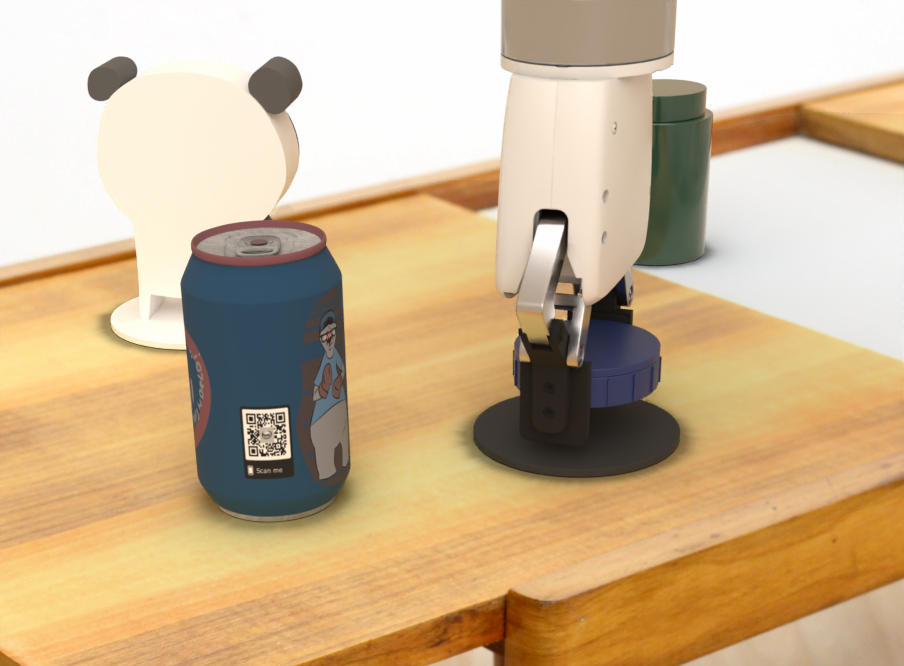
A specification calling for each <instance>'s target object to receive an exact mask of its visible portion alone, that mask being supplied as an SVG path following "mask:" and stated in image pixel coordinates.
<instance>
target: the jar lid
mask: <svg viewBox="0 0 904 666" xmlns="http://www.w3.org/2000/svg"><path fill="white" fill-rule="evenodd" d="M562 320H563V321H564V324H565V326H566V328H567V331H568V334H569V335H570V329H571V322H572V320H567V319H562ZM520 340H521V336H519V335H517V337H516V338H515V340H514V342H513V344H514V345H513V348H514V349H512V376H513V386H514V387H516V389H517V390H518V391H519V392H520V360H519V347H520ZM661 345H662V344H661V341H660V340H659V338H658V337H657V336H656V335H654V333H652V332H651V331H649V330H647V329H645V328H642V327H639V326H636V325H634V324H633V325H630V324H626V323H621V322H616V321H608V320H596V319H590V321H589V328H588V335H587V341H586V348H585V355H584V361H586V362H592V363H591V394H590V408H602V407H612V406H619V405H624V404H628V403H632V402H635V401H638V400H640V399H641V400H643V399H645V398H646V397H648V396H650V395H651V394H653V393H655V391H656V390H657V388H658V386H659V383H661V378H662V376H661V375H662V362H663V361H662V360H663V357H662V356H661Z"/></svg>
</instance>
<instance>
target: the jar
mask: <svg viewBox="0 0 904 666" xmlns="http://www.w3.org/2000/svg"><path fill="white" fill-rule="evenodd" d="M652 92H653V95H654V96H653V100H652V164H651V190H650V206H649V218H648V227H647V235H646V241H645V245H644V248H643V250H642V252H641V254H640V256H639V258H638V259H637V260H636V262H635V263H634V264H633V265H641V266H671V265H679V264H686V263H689V262H692V261H695V260H697V259H700V258H701V257H702V256H703V255H704V253H705V249H706V247H705V246H706V234H707V220H708V219H707V218H708V204H709V185H710V173H711V158H712V142H713V141H712V140H713V128H714V127H713V126H714V125H713V124H714V112H713V110H711V109H709V108H706V107H707V96H708V95H707V94H708V87H707V85H705V84H703V83H702V82H698V81H693V80H686V79H678V78H677V79H675V78H674V79H673V78H652Z"/></svg>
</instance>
